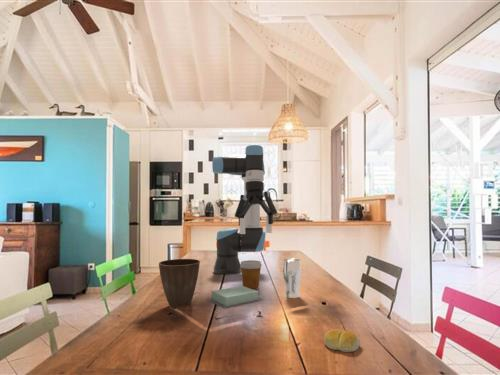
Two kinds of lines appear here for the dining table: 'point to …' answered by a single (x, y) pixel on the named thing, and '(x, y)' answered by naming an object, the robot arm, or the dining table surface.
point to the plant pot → (179, 280)
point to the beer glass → (292, 277)
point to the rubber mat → (231, 305)
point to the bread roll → (341, 340)
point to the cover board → (234, 295)
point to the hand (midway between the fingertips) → (255, 233)
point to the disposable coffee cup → (251, 273)
